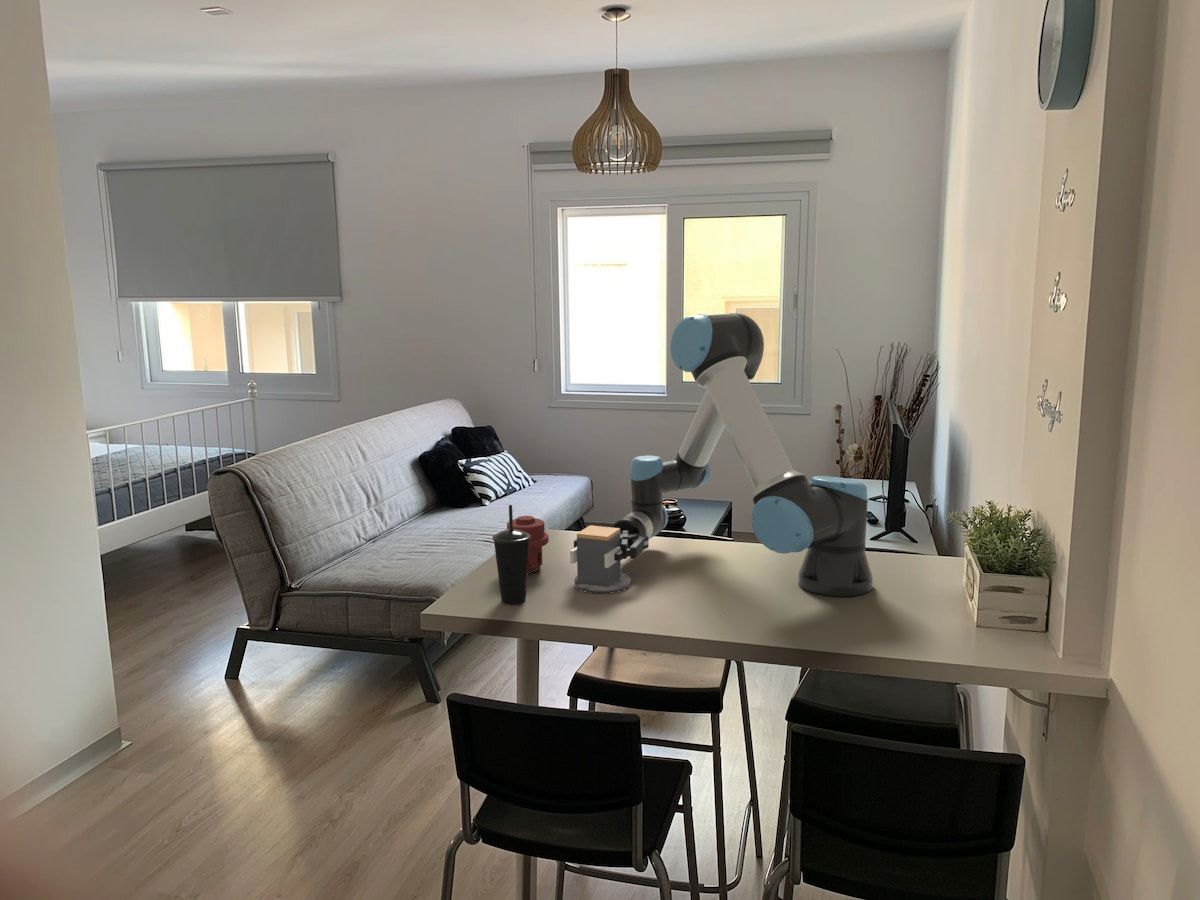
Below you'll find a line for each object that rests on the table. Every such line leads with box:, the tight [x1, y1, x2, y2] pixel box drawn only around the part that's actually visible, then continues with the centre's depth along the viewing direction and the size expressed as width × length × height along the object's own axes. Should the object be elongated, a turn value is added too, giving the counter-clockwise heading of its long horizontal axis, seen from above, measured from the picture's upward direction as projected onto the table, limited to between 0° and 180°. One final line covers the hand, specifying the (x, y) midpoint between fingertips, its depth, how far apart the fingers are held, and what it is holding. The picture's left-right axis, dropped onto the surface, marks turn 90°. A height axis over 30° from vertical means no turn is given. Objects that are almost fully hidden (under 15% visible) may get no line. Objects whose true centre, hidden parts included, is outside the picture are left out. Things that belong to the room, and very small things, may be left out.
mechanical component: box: [506, 515, 549, 575], centre depth 202 cm, size 12×10×10 cm
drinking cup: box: [491, 504, 531, 606], centre depth 182 cm, size 8×8×20 cm
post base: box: [574, 572, 632, 594], centre depth 193 cm, size 12×12×7 cm
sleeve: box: [576, 525, 622, 587], centre depth 191 cm, size 7×7×11 cm
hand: (588, 559), depth 187 cm, fingers closed on sleeve, 7 cm apart
